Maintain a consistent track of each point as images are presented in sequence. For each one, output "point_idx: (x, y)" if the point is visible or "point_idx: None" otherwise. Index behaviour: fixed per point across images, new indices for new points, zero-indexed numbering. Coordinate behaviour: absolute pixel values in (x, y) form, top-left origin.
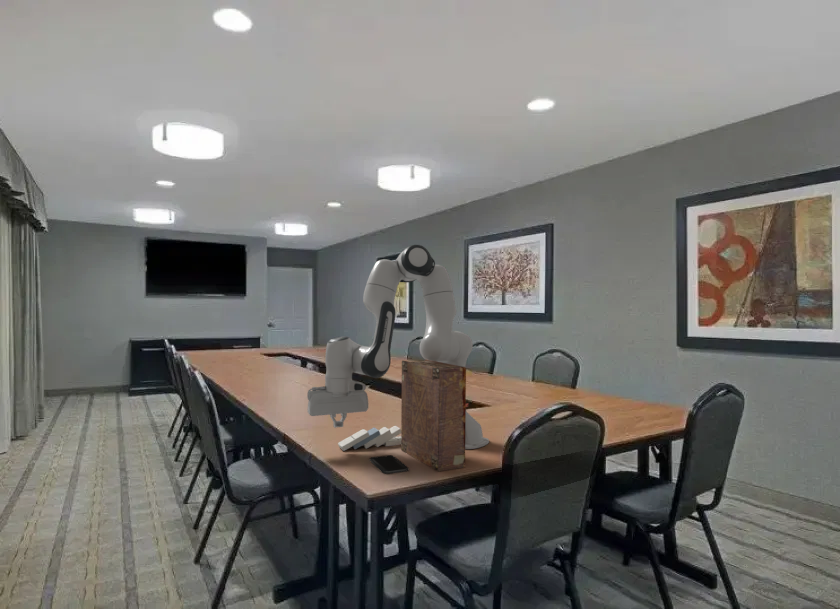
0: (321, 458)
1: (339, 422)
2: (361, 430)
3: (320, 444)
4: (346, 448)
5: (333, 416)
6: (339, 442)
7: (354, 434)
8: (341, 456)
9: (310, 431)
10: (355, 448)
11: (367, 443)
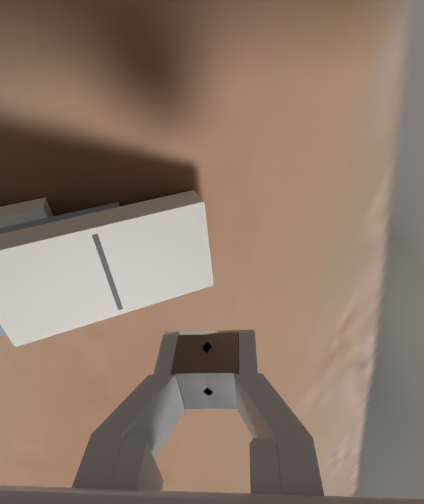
0: (399, 51)
1: (200, 369)
2: (32, 331)
3: (285, 340)
4: (171, 196)
5: (289, 456)
6: (202, 284)
7: (92, 312)
8: (233, 56)
9: None
10: (112, 205)
11: (19, 212)
